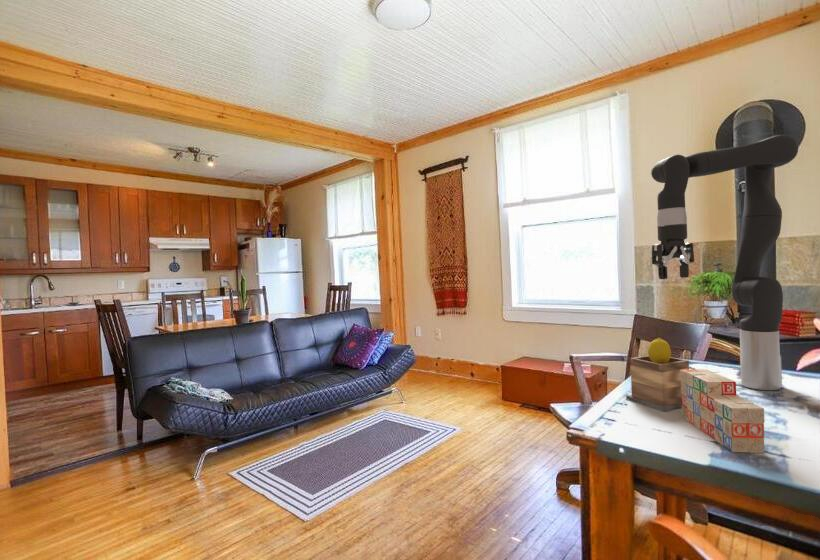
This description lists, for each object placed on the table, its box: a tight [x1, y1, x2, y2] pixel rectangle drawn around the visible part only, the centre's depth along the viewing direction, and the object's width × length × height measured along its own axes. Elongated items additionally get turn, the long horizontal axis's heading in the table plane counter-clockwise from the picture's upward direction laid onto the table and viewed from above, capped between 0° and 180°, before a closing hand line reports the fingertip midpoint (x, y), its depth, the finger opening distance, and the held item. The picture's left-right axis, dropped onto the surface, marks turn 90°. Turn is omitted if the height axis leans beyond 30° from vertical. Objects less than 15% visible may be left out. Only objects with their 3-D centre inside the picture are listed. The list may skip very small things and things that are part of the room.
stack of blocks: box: [680, 368, 765, 454], centre depth 95 cm, size 21×6×12 cm, turn 171°
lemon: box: [647, 337, 672, 364], centre depth 117 cm, size 6×6×8 cm
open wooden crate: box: [625, 355, 690, 412], centre depth 118 cm, size 12×12×12 cm
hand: (673, 278), depth 126 cm, fingers open, 8 cm apart
